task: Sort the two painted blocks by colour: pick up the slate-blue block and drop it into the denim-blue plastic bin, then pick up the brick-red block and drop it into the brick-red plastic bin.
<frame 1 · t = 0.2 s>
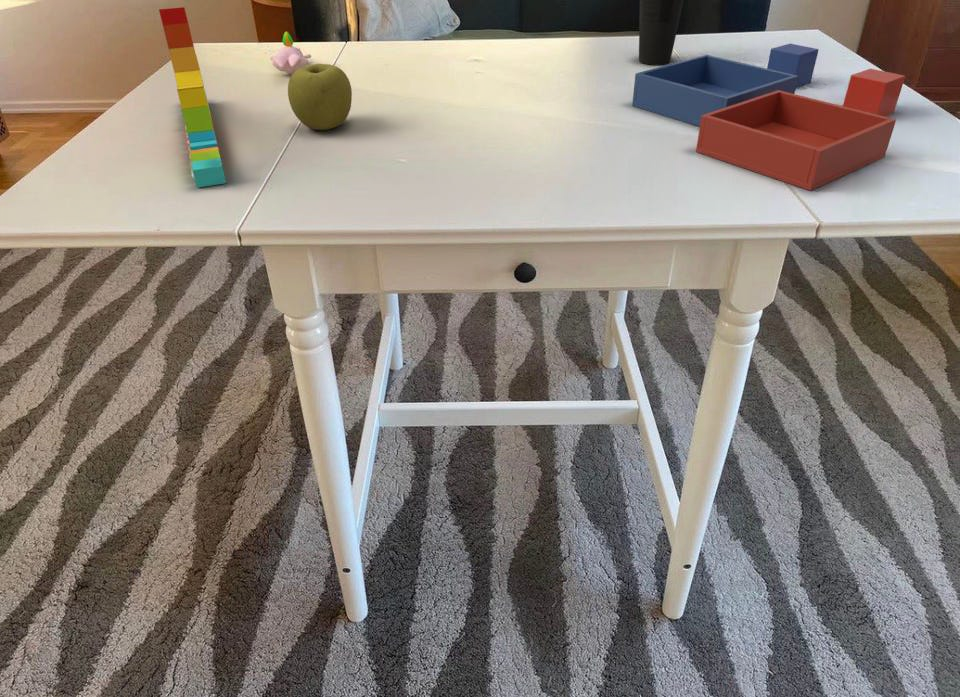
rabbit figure: (292, 74, 111), on the table
red block: (867, 112, 91), on the table
blue block: (787, 82, 102), on the table
apple: (325, 128, 90), on the table
blue bin: (710, 107, 94), on the table
red bin: (788, 154, 80), on the table
drinking cup: (654, 62, 113), on the table
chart: (202, 141, 87), on the table
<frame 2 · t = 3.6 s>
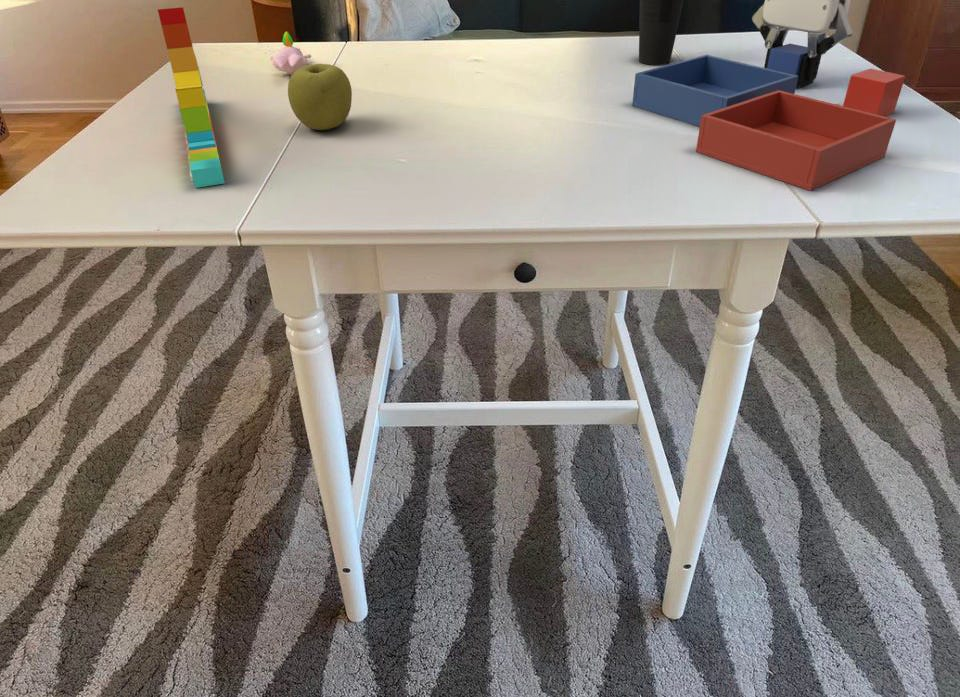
hand: (787, 79, 102), 0 cm above the table, tool pointing down, fingers closed on blue block, 4 cm apart
blue block: (787, 82, 102), on the table, touching gripper
everything else where it was.
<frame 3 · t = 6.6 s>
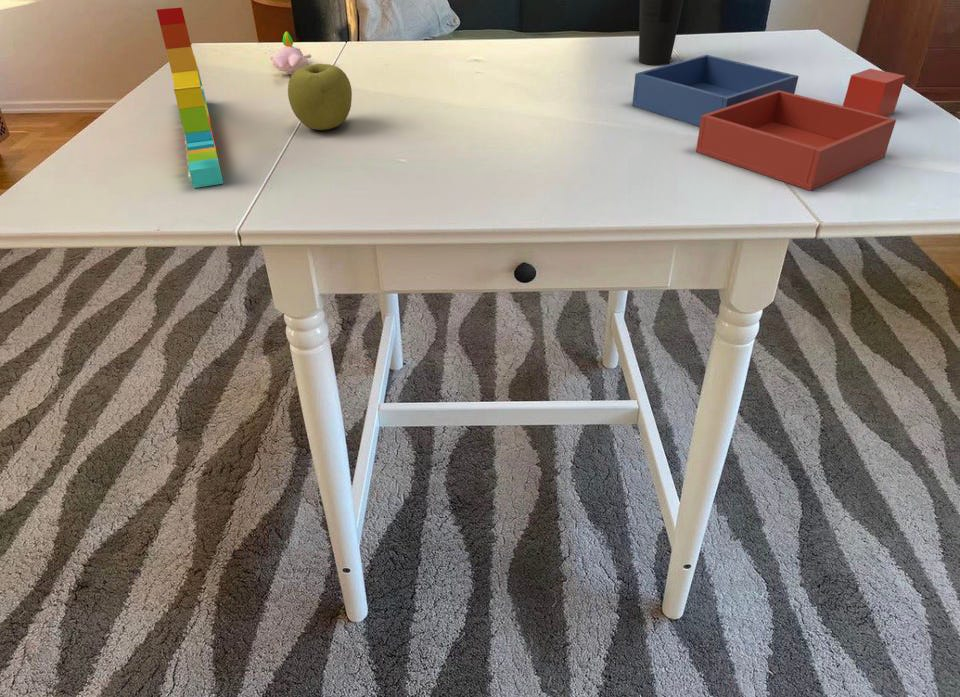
when the fingers open (1 cm above the table, at t = 9.8 s): blue block stays where it is, resting on blue bin.
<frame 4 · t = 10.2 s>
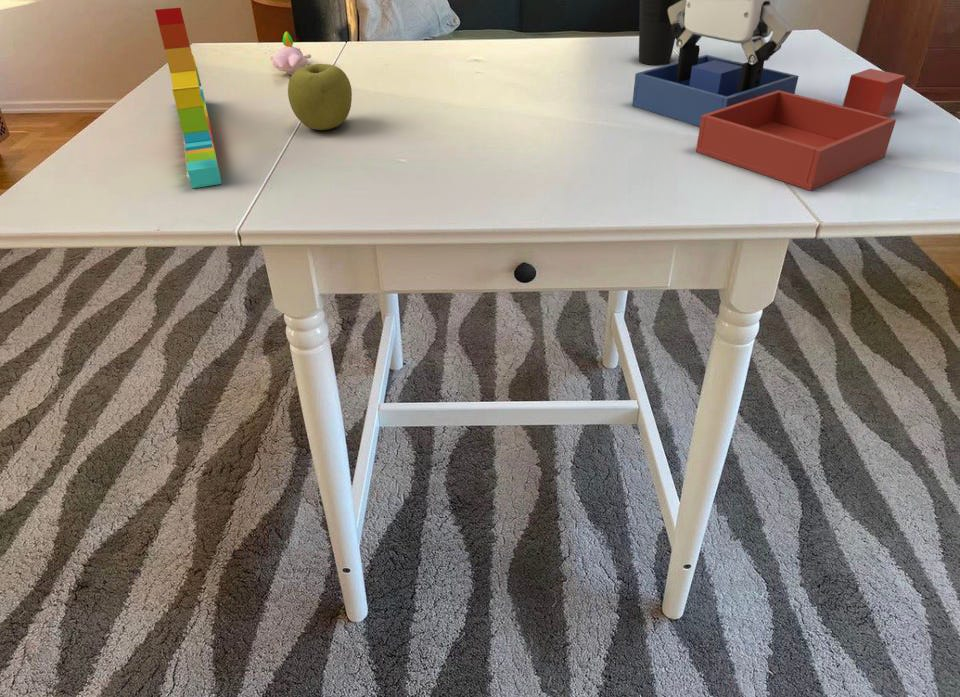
hand: (715, 86, 92), 3 cm above the table, tool pointing down, fingers open, 9 cm apart
blue block: (711, 102, 93), point 1 cm above the table, touching blue bin
everything else where it was.
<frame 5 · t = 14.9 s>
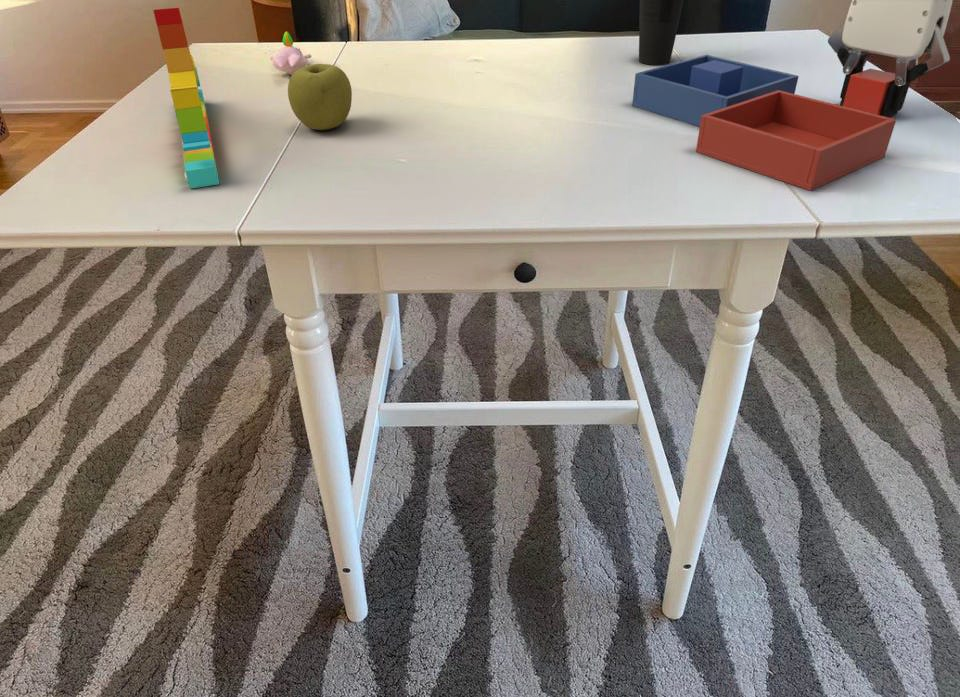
hand: (868, 109, 91), 0 cm above the table, tool pointing down, fingers closed on red block, 4 cm apart
red block: (867, 112, 91), on the table, touching gripper
everything else where it was.
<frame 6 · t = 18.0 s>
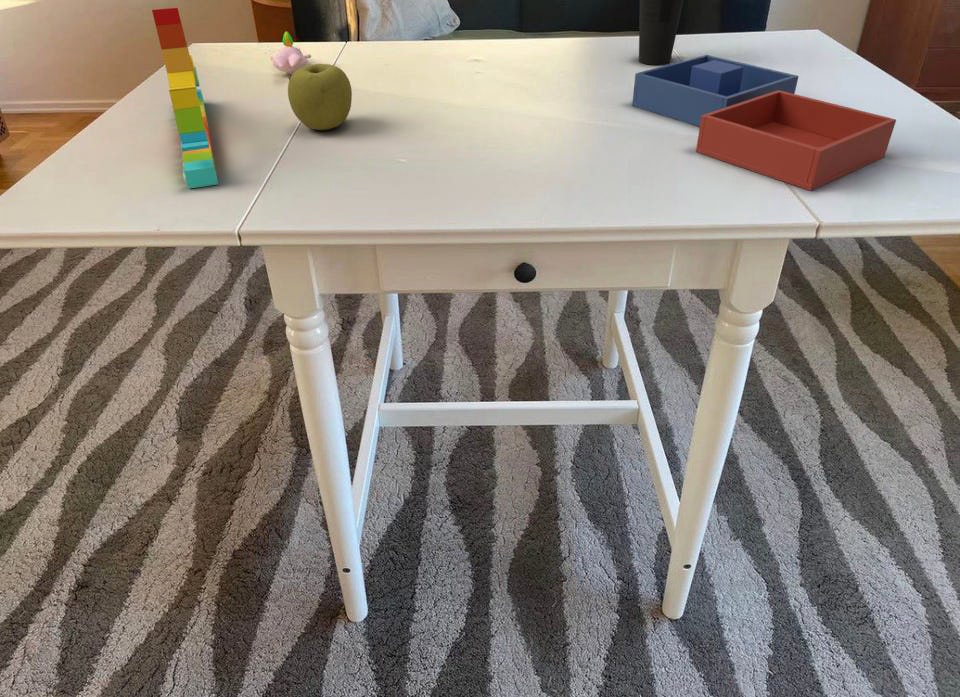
when the fingers open (1 cm above the table, at t = 21.2 s): red block stays where it is, resting on red bin.
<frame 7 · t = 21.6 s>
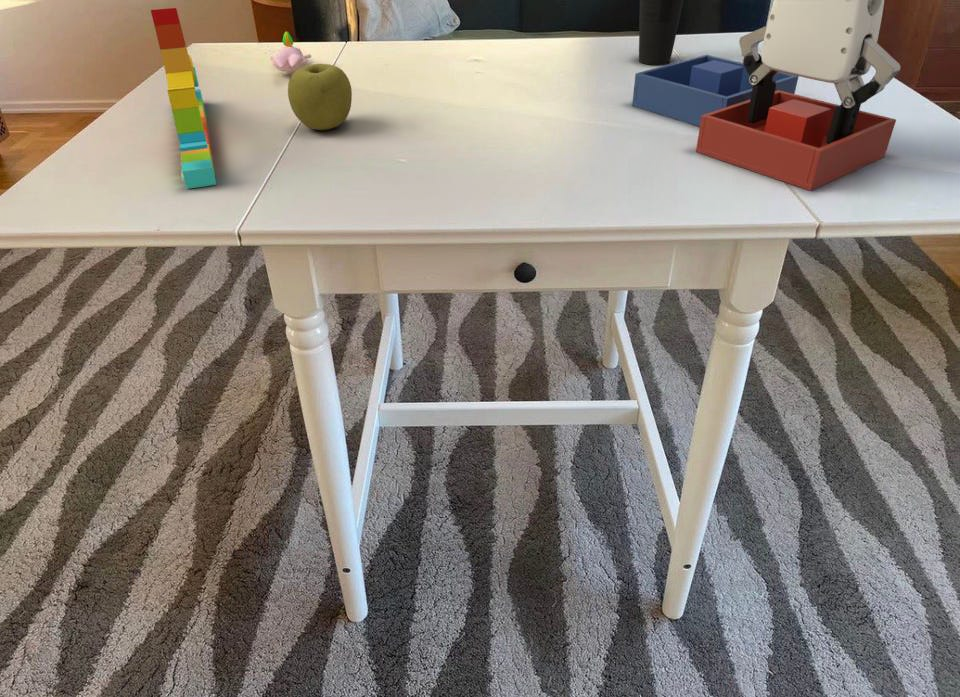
hand: (796, 130, 78), 3 cm above the table, tool pointing down, fingers open, 9 cm apart
red block: (790, 149, 80), point 1 cm above the table, touching red bin
everything else where it was.
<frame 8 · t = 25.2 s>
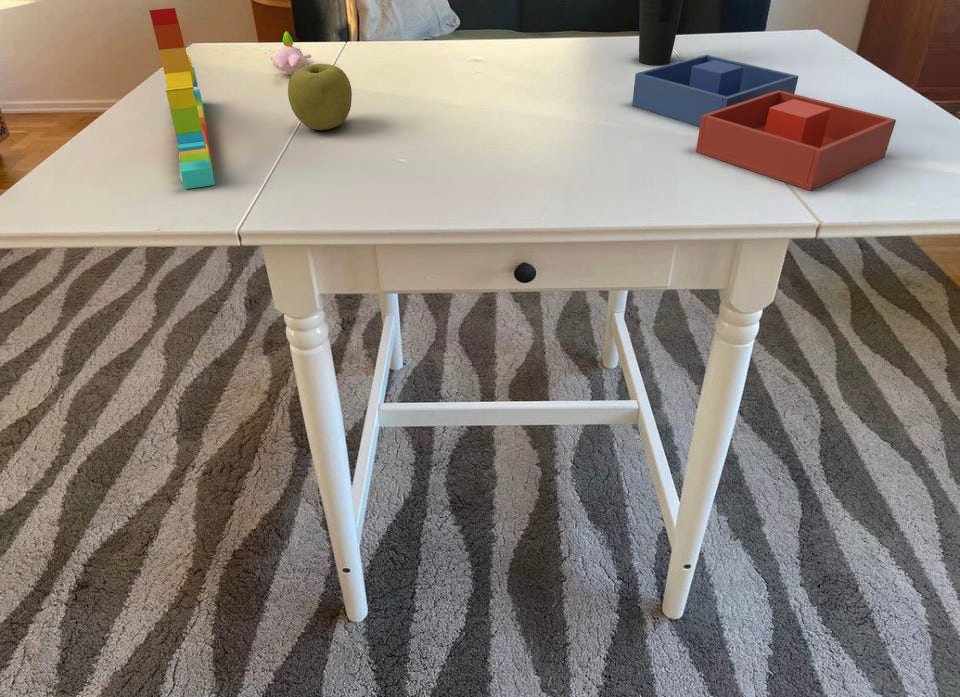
nothing on the table moved.
at the end: blue block inside the target area in the blue bin (0.1 cm from its centre), point 0.6 cm above the blue bin's base; red block inside the target area in the red bin (0.0 cm from its centre), point 0.6 cm above the red bin's base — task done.
